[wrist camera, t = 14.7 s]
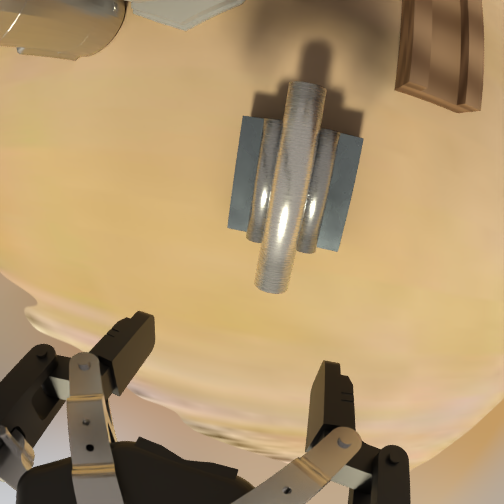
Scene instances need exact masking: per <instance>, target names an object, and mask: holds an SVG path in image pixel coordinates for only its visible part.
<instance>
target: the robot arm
mask: <svg viewBox="0 0 504 504" xmlns="http://www.w3.org/2000/svg"><path fill="white" fill-rule="evenodd" d="M124 14H125V4H124V1H123V0H0V46H7V47H17V52H18V53H19V54H23V55H34V56H44V57H52V58H60V59H67V60H73V61H75V60H76V59H78V58H79V57H82V56H90V55H93V54H95V53H97V52H99V51H100V50H101V49H103V48H104V47H105V46H106V45H107V44H108V43H109V42H110V41H111V40H112V39H113V37H114V36H115V35H116V33H117V31H118V30H119V28H120V26H121V24H122V21H123V18H124ZM154 344H155V323H154V316H153V315H150V314H147V313H144V312H141V311H138V312H136V313H135V315H134V316H133V317H132V318H131V319H130V318H127V317H126V318H124V319H122V320H120V321H118V322H117V323H116V324H115V325H114V326H113V327H112V329H110V330H109V331H108V332H107V335H105V336H104V337H103V338H102V339H101V340H100V341H99V342H98V343H97V344H96V345H95V346H94V347H93V348H92V350H91V351H90V352H89V353H88V352H82V353H78V354H76V355H74V356H73V357H72V358H69V357H64V356H59V355H56V352H55V350H54V348H53V347H52V346H50V345H48V344H40V345H36V346H35V347H33V348H32V349H31V350H30V351H29V352H28V353H27V354H26V355H25V356H24V357H23V359H21V360H20V361H19V363H18V364H17V365H16V366H15V367H14V368H13V369H12V370H11V371H10V372H9V373H8V374H7V375H6V377H5V378H4V379H3V380H2V381H1V382H0V481H2V482H6V483H7V484H8V485H10V486H11V487H12V488H13V489H15V490H16V491H17V495H16V504H305V503H306V502H308V501H309V500H310V499H311V498H312V497H313V496H315V495H316V494H317V493H318V492H319V491H320V490H321V489H322V488H323V487H324V486H325V485H327V483H328V482H330V481H333V482H336V483H338V484H341V485H343V486H346V487H349V498H348V504H410V478H409V477H410V475H409V459H408V455H407V453H406V452H405V451H404V450H403V449H402V448H401V447H399V446H396V445H388V446H385V447H384V448H382V449H378V448H376V447H373V446H370V445H368V444H366V443H364V442H363V441H362V440H361V437H360V435H359V434H358V433H357V432H356V429H355V411H354V396H353V384H352V382H351V381H350V379H349V377H348V376H344V375H341V374H340V364H339V363H335V362H330V361H323V362H322V364H321V367H320V369H319V371H318V374H317V376H316V378H315V380H314V383H313V386H312V389H311V394H310V406H309V418H308V428H307V438H306V447H305V452H307V453H306V454H305V455H303V456H302V457H301V458H299V457H298V458H296V459H295V460H293V461H292V462H290V463H289V464H288V465H287V466H285V467H284V468H283V469H281V470H280V471H279V472H277V473H276V474H274V475H273V476H272V477H270V478H269V479H267V480H266V481H265V482H263V483H262V484H260V485H259V486H257V487H256V488H255V487H254V486H252V485H251V484H250V483H249V482H247V481H246V480H245V479H243V478H241V477H239V476H237V473H238V469H235V468H230V467H227V466H223V465H219V464H216V463H210V462H198V461H189V460H184V459H182V458H181V457H179V456H177V455H176V454H174V453H173V452H171V451H169V450H168V449H166V448H165V447H163V446H161V445H159V444H156V443H154V442H151V441H149V440H146V439H144V438H142V437H139V438H138V440H137V441H136V442H132V441H120V442H118V441H117V438H116V434H115V430H114V425H113V421H112V415H111V410H110V403H109V399H108V398H109V396H110V395H111V394H112V393H113V394H115V395H117V396H120V395H121V394H122V392H123V391H124V389H125V388H126V387H127V385H128V384H129V383H130V381H131V380H132V378H133V377H134V375H135V374H136V373H137V371H138V370H139V368H140V367H141V366H142V364H143V363H144V361H145V360H146V359H147V357H148V356H149V354H150V353H151V351H152V350H153V347H154ZM66 400H67V419H68V432H69V442H70V451H71V457H68V458H65V459H62V460H59V461H55V462H51V463H48V464H44V465H40V466H37V467H33V464H34V462H33V461H34V457H35V455H34V450H33V447H34V446H35V444H36V443H37V441H38V440H39V438H40V437H41V436H42V434H43V432H44V431H45V430H46V428H47V427H48V425H49V424H50V423H51V421H52V420H53V418H54V417H55V415H56V414H57V413H58V411H59V410H60V408H61V407H62V406H63V404H64V403H65V401H66ZM32 467H33V468H32Z"/></svg>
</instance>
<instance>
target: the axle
mask: <svg viewBox="0 0 504 504" xmlns="http://www.w3.org/2000/svg"><path fill="white" fill-rule="evenodd" d="M326 91H327V90H326V89H325V88H324V87H322V86H319V85H316V84H312V83H307V82H299V81H295V82H290V83H289V87H288V93H287V99H286V105H285V111H284V116H283V122H282V128H281V134H280V140H279V146H278V151H277V157H276V163H275V169H274V174H273V180H272V186H271V191H270V197H269V203H268V208H267V214H266V220H265V225H264V231H263V237H262V242H261V248H260V253H259V259H258V264H257V270H256V275H255V281H254V284H255V286H256V287H257V288H258V289H260V290H262V291H265V292H268V293H274V294H279V293H284V292H286V291H287V289H288V285H289V281H290V276H291V272H292V268H293V263H294V259H295V254H296V250H297V245H298V241H299V236H300V231H301V226H302V222H303V217H304V212H305V207H306V202H307V197H308V192H309V187H310V182H311V177H312V172H313V166H314V161H315V156H316V150H317V145H318V139H319V133H320V128H321V122H322V116H323V110H324V104H325V97H326Z"/></svg>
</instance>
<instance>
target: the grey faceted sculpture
mask: <svg viewBox="0 0 504 504" xmlns="http://www.w3.org/2000/svg"><path fill="white" fill-rule="evenodd" d="M125 1H130V2H131V8H132V9H133V14H136V15H139V16H142V17H144V18H147V19H150V20H153V21H155V22H158V23H161V24H164V25H168V26H171V27H174V28H177V29H181V30H184V31H187V30H189V29H191V28H193V27H195V26H197V25H198V24H200V23H202V22H204V21H206V20H208V19H210V18H212V17H214V16H216V15H218V14H221V13H223V12H225V11H227V10H230V9H232V8H234V7H237V6H239V5H241V4H243V3H244V1H245V0H125Z"/></svg>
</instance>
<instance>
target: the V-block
mask: <svg viewBox="0 0 504 504" xmlns="http://www.w3.org/2000/svg"><path fill="white" fill-rule="evenodd" d="M282 122H283V121H282V120H276V119H269V118H264V119H263V118H256V117H249V116H243V119H242V126H241V132H240V139H239V146H238V153H237V160H236V167H235V174H234V181H233V189H232V196H231V204H230V211H229V219H228V227H227V228H231V229H236V230H240V231H245V232H247V234H246V238H247V239H248V240H250V241H253V242H257V243H261V242H262V237H263V231H264V225H265V220H266V214H267V208H268V203H269V197H270V191H271V186H272V180H273V174H274V169H275V163H276V157H277V151H278V146H279V140H280V134H281V128H282ZM362 144H363V138H359V137H355V136H351V135H347V134H343V133H341V132H338V131H334V130H329V129H325V128H320V133H319V139H318V145H317V150H316V156H315V161H314V166H313V172H312V177H311V182H310V187H309V192H308V197H307V202H306V207H305V212H304V217H303V222H302V226H301V231H300V236H299V241H298V245H297V251H299V252H302V253H314V252H315V251H316V247H318V248H323V249H327V250H332V251H336V252H338V248H339V245H340V241H341V237H342V233H343V229H344V225H345V221H346V217H347V213H348V209H349V205H350V200H351V196H352V192H353V187H354V183H355V178H356V173H357V169H358V164H359V159H360V154H361V149H362Z"/></svg>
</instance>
